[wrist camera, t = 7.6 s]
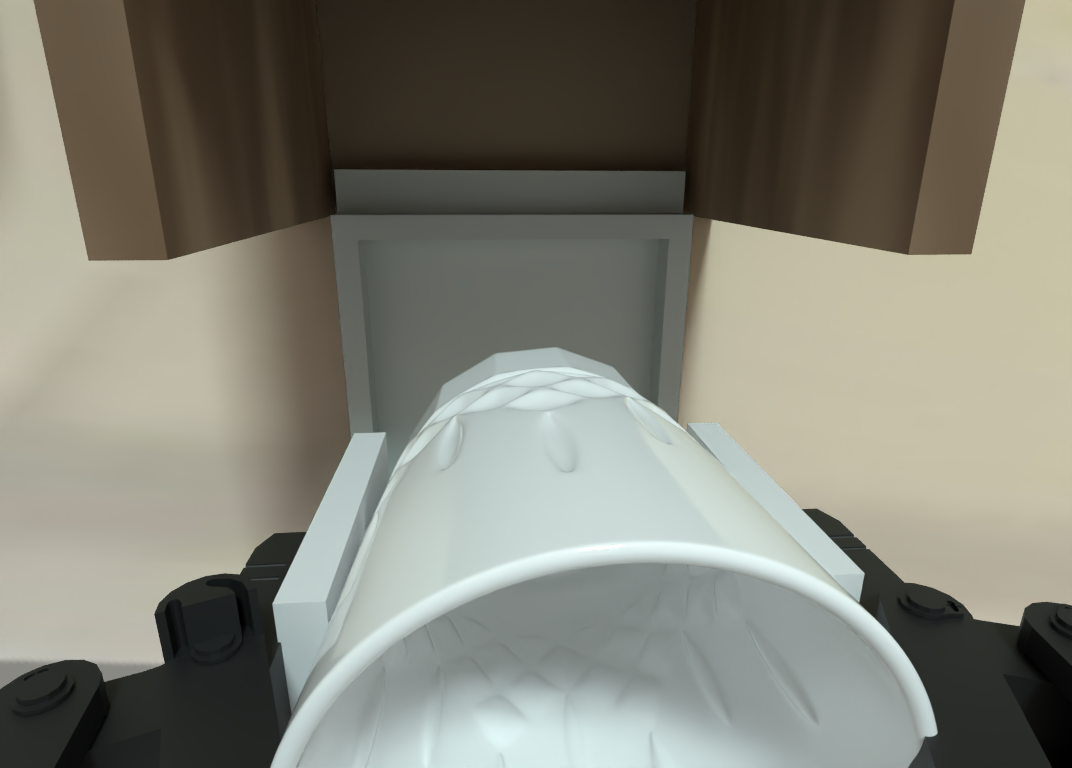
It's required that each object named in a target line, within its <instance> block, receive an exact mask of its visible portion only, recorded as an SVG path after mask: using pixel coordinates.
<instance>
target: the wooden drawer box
mask: <svg viewBox="0 0 1072 768" xmlns="http://www.w3.org/2000/svg"><path fill="white" fill-rule="evenodd" d="M34 4H35V9H36V14H37V18H38V23H39V28H40V32H41V37H42V42H43V47H44V51H45V56H46V61H47V66H48V70H49V75H50V80H51V84H52V89H53V94H54V99H55V103H56V108H57V113H58V118H59V122H60V127H61V132H62V137H63V141H64V146H65V151H66V155H67V160H68V165H69V170H70V174H71V179H72V184H73V189H74V193H75V198H76V203H77V207H78V212H79V217H80V222H81V226H82V231H83V236H84V241H85V245H86V250H87V255H88V259H89V261H90V260H170V259H173V258H177V257H181V256H184V255H188V254H192V253H195V252H199V251H203V250H206V249H210V248H214V247H217V246H221V245H225V244H228V243H232V242H236V241H239V240H243V239H247V238H250V237H254V236H258V235H261V234H265V233H269V232H272V231H276V230H280V229H283V228H287V227H291V226H294V225H298V224H302V223H305V222H309V221H313V220H316V219H320V218H324V217H327V216H330V215H332V214H335V209H334V198H333V187H332V176H331V165H330V154H329V143H328V132H327V121H326V110H325V99H324V88H323V77H322V66H321V55H320V44H319V33H318V22H317V11H316V0H34ZM1024 4H1025V0H698V1H697V15H696V29H695V42H694V56H693V70H692V84H691V97H690V111H689V125H688V139H687V152H686V166H685V171H686V175H685V188H684V202H683V213H687V214H693V215H694V216H696V217H701V218H707V219H712V220H718V221H723V222H729V223H735V224H740V225H746V226H751V227H757V228H762V229H768V230H774V231H779V232H785V233H790V234H796V235H801V236H807V237H812V238H818V239H824V240H829V241H835V242H840V243H846V244H851V245H857V246H863V247H868V248H874V249H879V250H885V251H890V252H896V253H902V254H907V255H937V254H971V253H972V248H973V243H974V239H975V234H976V229H977V225H978V220H979V215H980V211H981V206H982V201H983V197H984V192H985V187H986V182H987V178H988V173H989V168H990V164H991V159H992V154H993V150H994V145H995V140H996V136H997V131H998V126H999V121H1000V117H1001V112H1002V107H1003V103H1004V98H1005V93H1006V89H1007V84H1008V79H1009V75H1010V70H1011V65H1012V60H1013V56H1014V51H1015V46H1016V42H1017V37H1018V32H1019V28H1020V23H1021V18H1022V13H1023V9H1024Z"/></svg>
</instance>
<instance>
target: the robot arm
mask: <svg viewBox="0 0 1072 768" xmlns="http://www.w3.org/2000/svg"><path fill="white" fill-rule="evenodd" d="M687 432H688V433H689V434H690V435H691V436H692V437H693V438H694V439H695V440H696V441H697V442H698V443H699V444H700V445H701V446H702V447H703V448H704V449H705V450H707V451H708V452H709V453H710V454H711V455H712V456H714V457H715V458H716V459H717V460H718V461H719V462H720V463H721V464H722V465H723V466H724V467H726V469H727V470H728V471H729V472H730V473H731V474H732V475H733V476H734V477H735V478H736V479H737V481H738V482H739V483H740V484H741V485H742V486H743V487H744V488H745V489H746V490H747V491H748V492H749V493H750V494H751V495H752V496H753V497H754V498H755V499H756V500H757V501H758V502H759V503H760V504H761V505H762V506H763V507H764V508H765V509H766V510H767V511H768V512H769V513H770V514H771V515H772V516H773V517H774V518H775V519H776V520H777V521H778V522H779V523H780V524H781V525H782V526H783V527H784V528H785V529H786V530H787V531H788V532H789V533H790V534H791V535H792V536H793V537H794V538H795V539H796V540H797V541H798V542H799V543H800V544H801V545H802V546H803V547H804V548H805V549H806V550H807V551H808V552H809V553H810V554H811V555H812V556H813V557H814V558H815V559H816V560H817V561H818V562H819V563H820V564H821V565H822V566H823V567H824V568H825V569H826V570H827V571H828V572H829V573H830V574H831V575H832V576H833V577H834V578H835V579H836V580H837V581H838V582H839V583H840V584H841V585H842V586H843V587H844V588H845V589H846V590H847V591H848V592H849V593H850V594H851V595H852V596H853V597H854V598H855V599H856V600H857V601H858V602H859V603H860V604H861V605H862V606H863V607H864V608H865V609H866V610H867V611H868V612H869V613H870V614H871V615H872V616H873V617H874V618H875V619H876V620H877V621H878V622H879V623H880V624H881V625H882V626H883V627H884V628H885V629H886V630H887V631H888V632H889V634H890V635H891V636H892V637H893V638H894V639H895V641H896V642H897V643H898V644H899V646H900V647H901V648H902V650H903V651H904V652H905V654H906V655H907V657H908V658H909V660H910V661H911V663H912V665H913V666H914V668H915V670H916V672H917V673H918V675H919V677H920V679H921V681H922V683H923V686H924V688H925V690H926V692H927V695H928V698H929V700H930V703H931V706H932V709H933V713H934V717H935V721H936V726H937V731H938V733H937V734H936V735H935V736H932V737H927V736H925V738H924V741H923V744H922V746H921V749H920V751H919V753H918V754H917V756H916V757H915V758H914V759H913V761H912V762H911V764H910V765H909V767H908V768H1072V606H1071V605H1067V604H1058V603H1051V602H1040V603H1032V604H1031V605H1029V606H1028V607H1026V608H1025V610H1024V613H1023V617H1022V620H1021V624H1020V626H1014V625H1007V624H1001V623H994V622H988V621H981V620H976V619H973V617H972V615H971V614H970V613H969V611H968V610H967V609H966V608H965V607H964V605H963V604H961V603H960V602H958V601H957V600H955V599H954V598H952V597H951V596H949V595H947V594H945V593H943V592H941V591H938V590H936V589H934V588H931V587H927V586H923V585H919V584H915V583H904V582H903V581H902V580H901V579H900V578H899V577H898V576H897V575H896V574H895V573H894V572H893V571H892V570H891V569H889V568H888V567H887V566H886V565H885V564H884V563H883V562H882V561H881V560H880V559H879V558H878V557H877V556H876V555H875V554H874V553H873V552H871V551H870V550H869V549H866V546H865V545H864V544H863V543H862V542H861V541H860V540H859V539H858V538H857V537H856V538H854V534H852V533H851V532H850V531H849V530H848V529H847V528H846V527H845V526H844V525H843V524H842V523H841V522H840V521H839V520H837V519H835V518H833V517H831V516H829V515H827V514H826V513H824V512H822V511H820V510H818V509H801V508H800V507H799V506H798V505H797V504H796V503H795V502H794V501H793V500H792V499H791V498H790V497H789V496H788V495H787V494H786V493H785V492H784V491H783V490H782V489H781V488H780V487H779V486H778V485H777V484H776V483H775V482H774V481H773V480H772V479H771V478H770V477H769V476H768V475H767V474H766V473H765V472H764V470H763V469H762V468H761V467H760V466H759V465H758V464H757V463H756V462H755V461H754V460H753V459H752V458H751V457H750V456H749V455H748V454H747V453H746V452H745V451H744V450H743V449H742V448H741V447H740V446H739V445H738V444H737V443H736V442H735V441H734V440H733V439H732V438H731V437H730V436H729V435H728V434H727V433H726V432H725V431H724V430H723V429H722V428H721V427H720V426H719V425H718V424H717V423H688V424H687ZM388 481H389V468H388V454H387V441H386V432H381V433H354V435H353V437H352V439H351V441H350V443H349V445H348V447H347V450H346V452H345V454H344V456H343V458H342V460H341V462H340V464H339V466H338V468H337V470H336V472H335V475H334V477H333V479H332V481H331V483H330V485H329V487H328V489H327V491H326V493H325V495H324V497H323V500H322V502H321V504H320V506H319V508H318V510H317V512H316V514H315V516H314V518H313V520H312V522H311V525H310V527H309V529H308V531H307V532H295V533H275V534H273V535H272V536H271V537H269V538H268V539H267V540H265V541H264V542H263V543H262V544H260V545H259V546H258V547H256V548H255V550H254V552H253V553H252V555H251V557H250V558H249V560H248V562H247V563H246V568H243V570H242V572H241V573H240V575H238V574H218V575H211V576H205V577H202V578H199V579H196V580H193V581H191V582H188V583H186V584H184V585H182V586H180V587H179V588H177V589H175V590H173V591H171V592H170V593H169V594H168V595H167V596H166V597H165V598H164V599H163V600H162V601H161V602H160V603H159V605H158V607H157V609H156V611H155V614H154V615H155V619H156V624H157V629H158V633H159V638H160V643H161V647H162V652H163V657H164V661H165V664H163V665H161V666H159V667H156V668H153V669H150V670H147V671H144V672H141V673H137V674H133V675H130V676H126V677H122V678H118V679H114V680H111V681H107V682H104V681H103V676H102V673H101V671H100V670H99V668H98V666H97V664H94V663H91V662H89V661H86V660H64V661H60V662H56V663H52V664H48V665H44V666H42V667H39V668H37V669H35V670H32V671H30V672H28V673H26V674H24V675H21V676H20V677H18V678H17V679H15V680H13V681H12V682H10V683H9V684H7V685H6V686H4V687H3V688H1V689H0V768H270V767H271V764H272V761H273V758H274V756H275V753H276V751H277V749H278V746H279V744H280V741H281V739H282V736H283V734H284V732H285V729H286V727H287V724H288V722H289V720H290V717H291V715H292V712H293V710H294V707H295V705H296V702H297V700H298V698H299V695H300V693H301V690H302V688H303V685H304V683H305V681H306V678H307V676H308V673H309V671H310V668H311V666H312V663H313V661H314V659H315V656H316V654H317V651H318V649H319V646H320V644H321V641H322V639H323V636H324V634H325V631H326V629H327V626H328V624H329V621H330V619H331V616H332V614H333V611H334V609H335V606H336V604H337V601H338V599H339V596H340V594H341V591H342V589H343V586H344V584H345V581H346V579H347V576H348V574H349V571H350V569H351V566H352V564H353V561H354V559H355V556H356V554H357V551H358V549H359V546H360V544H361V541H362V539H363V536H364V534H365V532H366V530H367V527H368V525H369V523H370V521H371V520H372V517H373V515H374V513H375V511H376V508H377V506H378V504H379V502H380V500H381V498H382V496H383V493H384V490H385V488H386V486H387V483H388Z"/></svg>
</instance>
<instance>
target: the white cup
mask: <svg viewBox="0 0 1072 768" xmlns="http://www.w3.org/2000/svg"><path fill="white" fill-rule="evenodd" d="M937 733H938V731H937V726H936V721H935V717H934V713H933V709H932V706H931V703H930V700H929V698H928V695H927V692H926V690H925V688H924V686H923V683H922V681H921V679H920V677H919V675H918V673H917V672H916V670H915V668H914V666H913V665H912V663H911V661H910V660H909V658H908V657H907V655H906V654H905V652H904V651H903V650H902V648H901V647H900V646H899V644H898V643H897V642H896V641H895V639H894V638H893V637H892V636H891V635H890V634H889V632H888V631H887V630H886V629H885V628H884V627H883V626H882V625H881V624H880V623H879V622H878V621H877V620H876V619H875V618H874V617H873V616H872V615H871V614H870V613H869V612H868V611H867V610H866V609H865V608H864V607H863V606H862V605H861V604H860V603H859V602H858V601H857V600H856V599H855V598H854V597H853V596H852V595H851V594H850V593H849V592H848V591H847V590H846V589H845V588H844V587H843V586H842V585H841V584H840V583H839V582H838V581H837V580H836V579H835V578H834V577H833V576H832V575H831V574H830V573H829V572H828V571H827V570H826V569H825V568H824V567H823V566H822V565H821V564H820V563H819V562H818V561H817V560H816V559H815V558H814V557H813V556H812V555H811V554H810V553H809V552H808V551H807V550H806V549H805V548H804V547H803V546H802V545H801V544H800V543H799V542H798V541H797V540H796V539H795V538H794V537H793V536H792V535H791V534H790V533H789V532H788V531H787V530H786V529H785V528H784V527H783V526H782V525H781V524H780V523H779V522H778V521H777V520H776V519H775V518H774V517H773V516H772V515H771V514H770V513H769V512H768V511H767V510H766V509H765V508H764V507H763V506H762V505H761V504H760V503H759V502H758V501H757V500H756V499H755V498H754V497H753V496H752V495H751V494H750V493H749V492H748V491H747V490H746V489H745V488H744V487H743V486H742V485H741V484H740V483H739V482H738V481H737V479H736V478H735V477H734V476H733V475H732V474H731V473H730V472H729V471H728V470H727V469H726V467H724V466H723V465H722V464H721V463H720V462H719V461H718V460H717V459H716V458H715V457H714V456H712V455H711V454H710V453H709V452H708V451H707V450H705V449H704V448H703V447H702V446H701V445H700V444H699V443H698V442H697V441H696V440H695V439H694V438H693V437H692V436H691V435H690V434H689V433H688V432H687V431H686V430H684V429H683V428H682V427H681V426H680V425H679V424H678V423H677V422H675V421H674V420H673V419H672V418H671V417H670V416H669V415H668V414H667V413H666V412H665V411H664V410H662V409H661V408H660V407H658V406H656V405H655V404H653V403H652V402H650V401H649V400H647V399H645V398H644V397H642V396H641V395H640V394H639V393H638V392H637V391H636V390H635V389H634V388H633V387H632V386H631V385H630V384H629V383H628V382H627V381H626V380H625V379H624V378H623V377H622V376H621V374H620V373H619V372H618V371H617V370H616V369H615V368H614V367H612V366H609V365H607V364H604V363H601V362H598V361H595V360H592V359H590V358H587V357H584V356H581V355H578V354H575V353H573V352H570V351H567V350H564V349H561V348H558V347H551V348H541V349H532V350H522V351H512V352H503V353H495V354H493V355H492V356H490V357H488V358H487V359H485V360H483V361H482V362H480V363H478V364H477V365H475V366H473V367H472V368H470V369H468V370H467V371H465V372H463V373H462V374H460V375H458V376H457V377H455V378H453V379H452V380H450V381H448V382H447V383H445V384H444V385H443V386H442V387H441V389H440V390H439V392H438V393H437V395H436V396H435V398H434V399H433V401H432V402H431V404H430V406H429V407H428V409H427V410H426V412H425V413H424V415H423V416H422V418H421V419H420V421H419V422H418V424H417V426H416V427H415V429H414V430H413V432H412V433H411V436H410V438H409V441H408V444H407V446H406V447H405V449H404V451H403V453H402V454H401V456H400V458H399V460H398V462H397V464H396V466H395V468H394V470H393V472H392V474H391V477H390V479H389V481H388V483H387V486H386V488H385V490H384V493H383V496H382V498H381V500H380V502H379V504H378V506H377V508H376V511H375V513H374V515H373V517H372V520H371V521H370V523H369V525H368V527H367V530H366V532H365V534H364V536H363V539H362V541H361V544H360V546H359V549H358V551H357V554H356V556H355V559H354V561H353V564H352V566H351V569H350V571H349V574H348V576H347V579H346V581H345V584H344V586H343V589H342V591H341V594H340V596H339V599H338V601H337V604H336V606H335V609H334V611H333V614H332V616H331V619H330V621H329V624H328V626H327V629H326V631H325V634H324V636H323V639H322V641H321V644H320V646H319V649H318V651H317V654H316V656H315V659H314V661H313V663H312V666H311V668H310V671H309V673H308V676H307V678H306V681H305V683H304V685H303V688H302V690H301V693H300V695H299V698H298V700H297V702H296V705H295V707H294V710H293V712H292V715H291V717H290V720H289V722H288V724H287V727H286V729H285V732H284V734H283V736H282V739H281V741H280V744H279V746H278V749H277V751H276V753H275V756H274V758H273V761H272V764H271V767H270V768H908V767H909V765H910V764H911V762H912V761H913V759H914V758H915V757H916V756H917V754H918V753H919V751H920V749H921V746H922V744H923V741H924V738H925V736H927V737H932V736H935V735H936V734H937Z"/></svg>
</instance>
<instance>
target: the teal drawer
mask: <svg viewBox="0 0 1072 768" xmlns="http://www.w3.org/2000/svg"><path fill="white" fill-rule="evenodd" d="M685 175H686V171H537V170H345V169H334V177H335V189H336V200H337V211H338V213H336V214H332V215H330V219H331V230H332V241H333V251H334V262H335V273H336V284H337V294H338V305H339V316H340V326H341V337H342V348H343V359H344V369H345V380H346V391H347V402H348V412H349V423H350V434H351V439H352V437H353V435H354V433H381V432H386V441H387V454H388V468H389V479H390V477H391V474H392V472H393V470H394V468H395V466H396V464H397V462H398V460H399V458H400V456H401V454H402V453H403V451H404V449H405V447H406V446H407V444H408V441H409V438H410V436H411V433H412V432H413V430H414V429H415V427H416V426H417V424H418V422H419V421H420V419H421V418H422V416H423V415H424V413H425V412H426V410H427V409H428V407H429V406H430V404H431V402H432V401H433V399H434V398H435V396H436V395H437V393H438V392H439V390H440V389H441V387H442V386H443V385H444V384H445V383H447V382H448V381H450V380H452V379H453V378H455V377H457V376H458V375H460V374H462V373H463V372H465V371H467V370H468V369H470V368H472V367H473V366H475V365H477V364H478V363H480V362H482V361H483V360H485V359H487V358H488V357H490V356H492V355H493V354H495V353H503V352H512V351H522V350H532V349H541V348H551V347H558V348H561V349H564V350H567V351H570V352H573V353H575V354H578V355H581V356H584V357H587V358H590V359H592V360H595V361H598V362H601V363H604V364H607V365H609V366H612V367H614V368H615V369H616V370H617V371H618V372H619V373H620V374H621V376H622V377H623V378H624V379H625V380H626V381H627V382H628V383H629V384H630V385H631V386H632V387H633V388H634V389H635V390H636V391H637V392H638V393H639V394H640V395H641V396H642V397H644V398H645V399H647V400H649V401H650V402H652V403H653V404H655V405H656V406H658V407H660V408H661V409H662V410H664V411H665V412H666V413H667V414H668V415H669V416H670V417H671V418H672V419H673V420H674V421H675V422H678V410H679V397H680V384H681V371H682V359H683V346H684V333H685V320H686V307H687V295H688V282H689V269H690V256H691V244H692V231H693V218H694V215H693V214H687V213H683V202H684V188H685Z"/></svg>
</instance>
